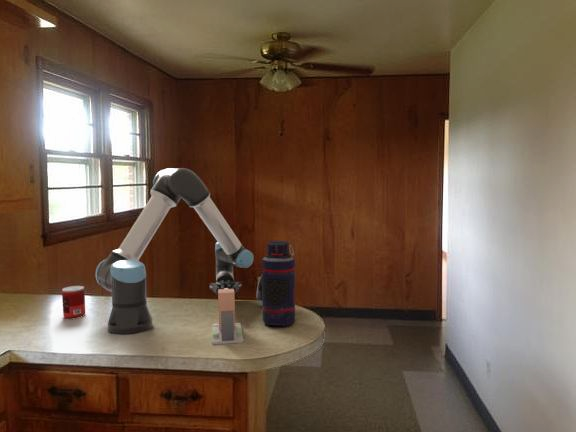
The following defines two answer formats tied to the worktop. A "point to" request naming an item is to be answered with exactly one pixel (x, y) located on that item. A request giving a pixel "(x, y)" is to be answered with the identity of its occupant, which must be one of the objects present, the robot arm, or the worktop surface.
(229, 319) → the dark grey rubber block
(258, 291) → the pump dispenser
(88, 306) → the worktop surface
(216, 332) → the gauge base
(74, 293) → the canned food
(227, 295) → the tall salmon pillar
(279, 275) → the navy red-striped canister
